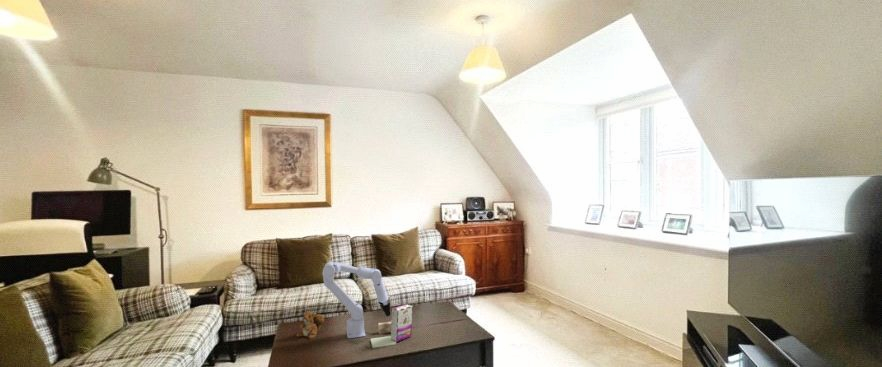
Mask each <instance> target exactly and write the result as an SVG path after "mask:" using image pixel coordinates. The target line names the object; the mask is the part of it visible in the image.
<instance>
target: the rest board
mask: <svg viewBox="0 0 882 367" xmlns="http://www.w3.org/2000/svg"><path fill="white" fill-rule="evenodd" d="M370 343H371V347H372V348H373V349H374V348H375V349H376V348H382V347H390V346H395V345H397V342H396V341H393V340H391V335H388V336H380V337H374V338H370Z"/></svg>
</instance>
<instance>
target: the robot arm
mask: <svg viewBox="0 0 882 367" xmlns="http://www.w3.org/2000/svg"><path fill="white" fill-rule="evenodd" d="M341 272H345V273H351V274H354V275H355V274H356V276H357V277H358V278H361V279H366V280H371V281H372V283H373V284H372V285H373V288H374V291H375V292H374V293H375V295H376V298H377V299H376V300H377V303H378V304H379V307H380V308H381V309H382V311H383V313H384V314H385V316H386V317H390V316H391V308H390V307H391V302H389V301H388V300H389V298H391V296H390V295H388V293H387V288H386V286H385V283H384V280H383V278H382V272H381V270H380V269H378V268H370V267H367V266H366V265H361V266H359V267H356V266H352V265H349V264H345V263H342V262H338V261H333V260H330V261H326V263H325V264H324V266H323V269H322V278H323V285H324V286H325V287H326V288H327V289H328V290H329V291H330V292H331V293H332V295H334V296H335V298H336V299H337V300H338V301H339V302H340V303H342V305H343V306H344V307H345V308H346V310H347V312H348V313H349V314H350V318H349V319H346V333H345V334H346V336H347V339H354V338H361V337H366V331H365V318H364V312H363V310H364V309H363V306H362V305H361V304H360V303H357V302H356V301H355V300H353V299H352V298H351V297H350V296H349V295H348V294H347V292H346V291H344V289H342V287H341V286H340V285H339V284H338V283H337V282H336V281H335V280H334V278H335V273H336V274H338V273H341Z"/></svg>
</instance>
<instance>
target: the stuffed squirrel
mask: <svg viewBox="0 0 882 367" xmlns="http://www.w3.org/2000/svg"><path fill="white" fill-rule="evenodd" d="M300 321H303V322H302V323H301V324H299V329H300V330H301V331H300V332H297V334H296V337H299V338H300V337H307V338H309V339H313V338H315V337H316V336H317V334H318V332H319V331H320V329H321V326H322V324H323V323H324V322H325V316H323V314H317V313H316V312H312V311H307V310H306V311H305V313H304V315H303V317H302V318H301V319H300Z"/></svg>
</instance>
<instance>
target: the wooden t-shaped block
mask: <svg viewBox="0 0 882 367" xmlns="http://www.w3.org/2000/svg"><path fill="white" fill-rule="evenodd" d="M391 324H392V319H390V321H385V322H378V324H377V326H378V328H377V329H378V334H387V333H391Z"/></svg>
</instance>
